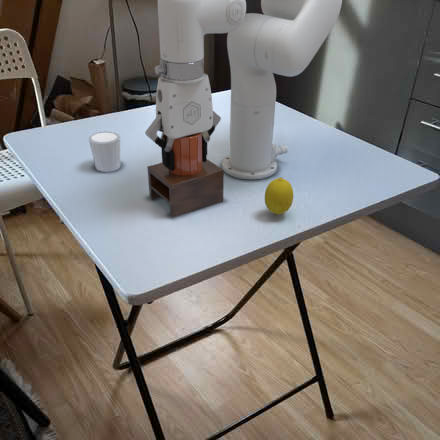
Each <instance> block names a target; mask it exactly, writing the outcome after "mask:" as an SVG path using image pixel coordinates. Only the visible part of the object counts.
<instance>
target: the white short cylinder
mask: <svg viewBox="0 0 440 440" xmlns="http://www.w3.org/2000/svg"><path fill="white" fill-rule="evenodd" d="M88 143H89V146H90V150H91V154H92V159H93V163H94V167H95V170H97V171H99V172H103V173H110V172H115V171H117V170H119V169H120V168H121V165H122V164H121V136H120V134H119V133H117V132H113V131H99V132H95V133H92V134H91V135H89V136H88Z"/></svg>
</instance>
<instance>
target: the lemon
mask: <svg viewBox="0 0 440 440" xmlns="http://www.w3.org/2000/svg"><path fill="white" fill-rule="evenodd" d="M293 202H294V189H293V186H292V184H291V182H289V181H288V180H287V179H284V178H283V177H278V178H275V179H273V180H271V181H270V182H268V184H267V186H266V188H265V191H264V204H265V207H266V208H267V210H268V211H269V212H271V213H272V214H274V215H275V216H279V215H283V214H285V213H286V212H287V211H289V210H290V208H291V207H292V205H293Z"/></svg>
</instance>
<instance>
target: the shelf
mask: <svg viewBox="0 0 440 440" xmlns="http://www.w3.org/2000/svg"><path fill="white" fill-rule="evenodd" d="M146 169H147V181H148V193H149V199H151V200H156V199H158V198H162V199H163V200H164V201H166V202H167V203H168V204H169V214H170V217H171V218H177V217H180V216H182V215H185V214H189V213H192V212H195V211H199V210H201V209H205V208H208V207H212V206H213V205H216V204H220V203H223V202H224V183H225V182H224V181H225V176H224V175H225V171H224V170H223V168H221V167H220V166H218V165H216V164H215V163H214V162H212V161H210V160H209V159H208V158H207V161H206V162H202V170H201V171H200V172H199V173H197V174H194V175H190V176H182V175H181V176H180V175H176V174H173V173H171V172H170V171H169V169H168V168H166V167H165V166H164V165H163V163H162V162H158V163H155V164H151V165H147V166H146Z"/></svg>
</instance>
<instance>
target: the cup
mask: <svg viewBox="0 0 440 440" xmlns="http://www.w3.org/2000/svg"><path fill="white" fill-rule="evenodd" d="M167 138H168V136H167ZM171 150H172V151H174V166H175V169H174V170H173V171H170V170H169V171H170V172H171V173H173V174H176V175H180V176H181V175H182V176H190V175H194V174H197V173H199V172H200V171H201V170H202V133H198V134H194V135H190V136H185V137H181V138H177V139H174V142H173V145H172V148H171Z"/></svg>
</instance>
